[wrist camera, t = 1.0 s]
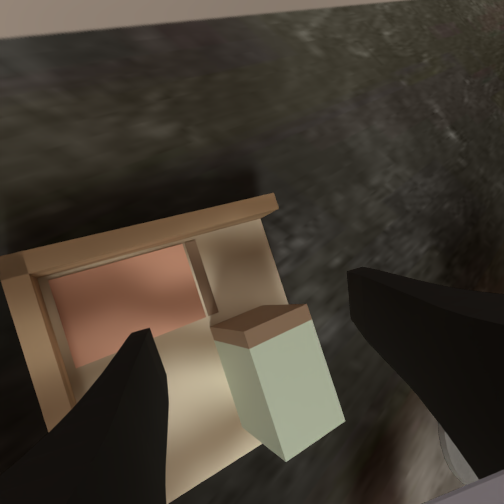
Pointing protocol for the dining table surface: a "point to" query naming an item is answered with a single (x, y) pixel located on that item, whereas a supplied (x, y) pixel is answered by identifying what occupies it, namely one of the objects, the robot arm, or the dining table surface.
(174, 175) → the dining table surface
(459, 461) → the mate gourd
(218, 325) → the sage block
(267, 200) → the corner arena
